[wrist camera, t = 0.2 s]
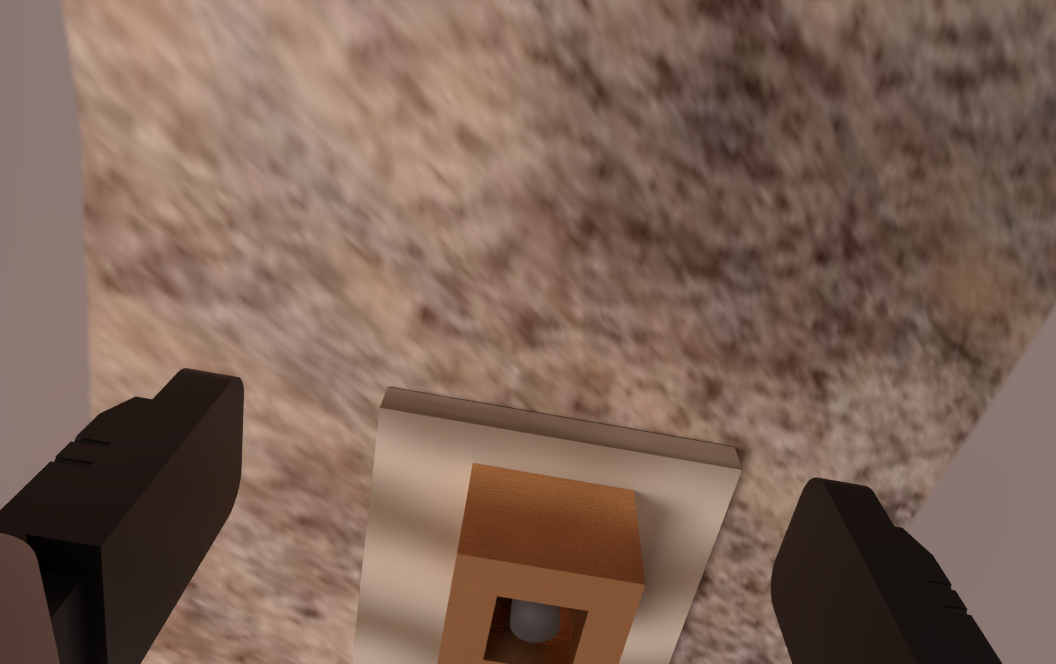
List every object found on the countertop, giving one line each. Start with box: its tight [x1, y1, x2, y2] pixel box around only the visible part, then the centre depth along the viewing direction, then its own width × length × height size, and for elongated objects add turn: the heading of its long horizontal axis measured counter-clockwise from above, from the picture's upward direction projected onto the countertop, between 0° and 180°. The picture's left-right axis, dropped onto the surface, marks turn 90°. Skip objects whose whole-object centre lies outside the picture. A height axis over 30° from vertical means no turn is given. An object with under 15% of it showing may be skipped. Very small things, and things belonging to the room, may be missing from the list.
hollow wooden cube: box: [437, 463, 645, 664], centre depth 30 cm, size 6×6×5 cm
